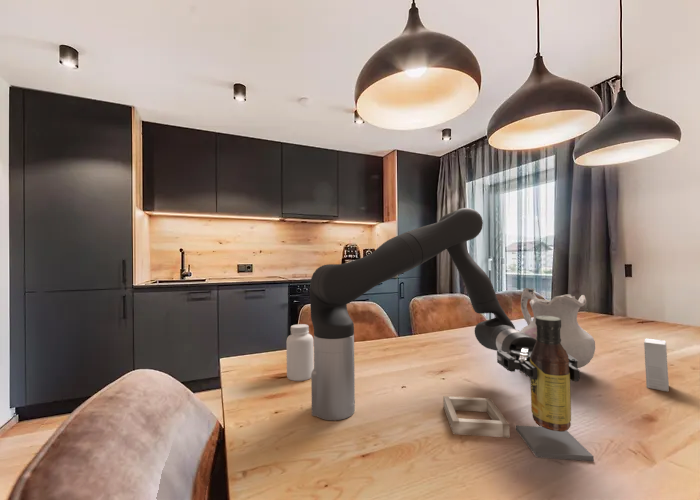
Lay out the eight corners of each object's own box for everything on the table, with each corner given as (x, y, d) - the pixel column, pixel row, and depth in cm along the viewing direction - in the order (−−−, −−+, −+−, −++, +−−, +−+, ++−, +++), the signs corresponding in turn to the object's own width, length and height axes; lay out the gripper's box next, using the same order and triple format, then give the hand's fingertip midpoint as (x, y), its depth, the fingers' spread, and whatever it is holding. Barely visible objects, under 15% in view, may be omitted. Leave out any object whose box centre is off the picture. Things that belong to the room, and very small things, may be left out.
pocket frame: (453, 434, 61) (452, 420, 61) (443, 407, 72) (443, 396, 72) (509, 437, 60) (509, 424, 60) (490, 409, 71) (490, 398, 71)
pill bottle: (281, 377, 92) (281, 326, 93) (302, 370, 98) (302, 322, 99) (297, 384, 87) (297, 329, 88) (319, 376, 93) (319, 325, 93)
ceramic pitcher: (501, 368, 101) (496, 292, 101) (535, 354, 111) (530, 284, 111) (577, 392, 83) (570, 298, 82) (609, 373, 92) (603, 289, 92)
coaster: (536, 457, 54) (536, 452, 54) (515, 429, 62) (515, 425, 63) (593, 461, 52) (593, 456, 52) (564, 432, 61) (564, 428, 61)
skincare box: (646, 381, 87) (644, 337, 87) (668, 385, 84) (666, 340, 84) (645, 387, 82) (643, 341, 83) (669, 392, 79) (666, 344, 80)
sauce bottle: (534, 412, 62) (532, 312, 63) (572, 422, 58) (569, 316, 59) (528, 426, 57) (525, 317, 58) (570, 438, 53) (566, 322, 54)
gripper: (485, 331, 73) (512, 352, 57) (550, 332, 71) (599, 354, 55) (485, 363, 73) (513, 394, 56) (552, 365, 71) (600, 398, 55)
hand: (555, 374), depth 56 cm, fingers closed on sauce bottle, 6 cm apart
